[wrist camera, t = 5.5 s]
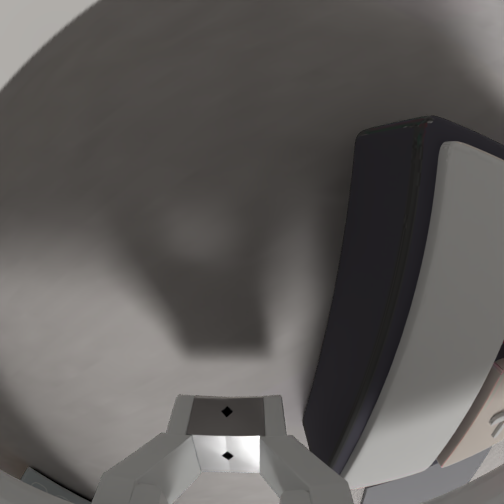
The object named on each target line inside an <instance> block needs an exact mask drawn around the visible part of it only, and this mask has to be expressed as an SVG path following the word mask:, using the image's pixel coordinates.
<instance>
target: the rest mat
mask: <svg viewBox="0 0 504 504" xmlns="http://www.w3.org/2000/svg"><path fill="white" fill-rule="evenodd" d="M491 448H492V446H491V447H489V448H487V449H485V450H483V451H481V452H479V453H477V454H475V455H473V456H471V457H468V458H466V459H464V460H462V461H459V462H457V463H455V464H452V465H450V466H447V467H444V468H441V466H440V465H439V463H437V464H434V465H431V466H430V467H429V468H427V469H426V470H424V471H422V472H419V473H416V474H413V475H410V476H406V477H403V478H400V479H396V480H392V481H389V482H385V483H381V484H376V485H372V486H368V487H365V491H364V495H363V498H362V502H361V504H420V503H422V502H425V501H428V500H430V499H433V498H435V497H438V496H440V495H443V494H445V493H447V492H450V491H452V490H454V489H456V488H459V487H461V486H463V485H465V484H467V483H468V482H469V481H470V480H471V478H472V477H473V475H474V474H475V473H476V471H477V470H478V468H479V467H480V465H481V464H482V462H483V461H484V459H485V457H486V456H487V454H488V453H489V451H490V449H491Z"/></svg>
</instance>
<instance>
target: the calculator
mask: <svg viewBox="0 0 504 504" xmlns="http://www.w3.org/2000/svg"><path fill="white" fill-rule="evenodd" d="M303 426H304V430H305V434H306V438H307V442H308V446H309V450H310V451H311V452H312V453H313V454H314V455H315V456H317V457H318V458H319V459H320V460H321V461H323V462H324V463H325V464H326V465H327V466H329V467H330V468H331V469H332V470H333V471H335V472H336V473H337V474H338V475H340V476H341V477H342V478H344V479H345V480H346V481H347V482H348V484H349V488H350V490H353V489H358V488H363V487H368V486H372V485H376V484H381V483H385V482H389V481H392V480H396V479H400V478H403V477H406V476H410V475H413V474H416V473H419V472H422V471H424V470H426V469H427V468H429V467H430V466H431V465H434V464H437V463H439V465H440V466H441V468H444V467H447V466H450V465H452V464H455V463H457V462H459V461H462V460H464V459H466V458H468V457H471V456H473V455H475V454H477V453H479V452H481V451H483V450H485V449H487V448H489V447H491V446H493V445H495V444H497V443H499V442H501V441H502V440H504V146H503V145H501V144H500V143H498V142H496V141H494V140H492V139H489V138H487V137H485V136H483V135H481V134H479V133H477V132H474V131H472V130H470V129H468V128H465V127H463V126H461V125H458V124H456V123H454V122H451V121H449V120H446V119H443V118H440V117H437V116H424V117H419V118H414V119H409V120H404V121H400V122H395V123H390V124H386V125H382V126H377V127H373V128H370V129H366V130H363V131H361V132H360V133H359V134H358V136H357V138H356V142H355V151H354V161H353V171H352V180H351V188H350V196H349V204H348V211H347V218H346V225H345V232H344V238H343V245H342V251H341V257H340V263H339V268H338V274H337V279H336V284H335V290H334V295H333V300H332V305H331V309H330V314H329V319H328V323H327V328H326V332H325V337H324V341H323V345H322V350H321V354H320V358H319V362H318V366H317V370H316V374H315V378H314V381H313V385H312V389H311V392H310V396H309V400H308V403H307V407H306V410H305V414H304V417H303Z"/></svg>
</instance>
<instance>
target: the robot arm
mask: <svg viewBox="0 0 504 504" xmlns="http://www.w3.org/2000/svg"><path fill="white" fill-rule="evenodd" d="M201 472H241V473H260V475H261V476H262V477H263V478H264V480H265V481H266V482H267V483H268V485H269V486H270V487H271V488H272V490H273V491H274V492H275V493H276V494H277V496H278V497H279V498H280V503H279V504H354V503H353V499H352V495H351V491H350V488H349V484H348V482H347V481H346V480H345V479H344V478H342V477H341V476H340V475H338V474H337V473H336V472H335V471H333V470H332V469H331V468H330V467H329V466H327V465H326V464H325V463H324V462H323V461H321V460H320V459H319V458H318V457H317V456H315V455H314V454H313V453H312V452H311V451H310V450H308V449H307V448H306V447H305V446H304V445H303V444H301V443H300V442H299V441H298V440H297V439H296V438H295V437H294V436H292V435H287V434H286V426H285V418H284V411H283V403H282V397H281V395H271V396H249V397H218V396H199V395H195V396H193V395H181V394H179V395H178V396H177V397H176V400H175V403H174V407H173V410H172V414H171V417H170V421H169V424H168V428H167V431H166V433H160V434H159V435H157V436H156V437H155V438H153V439H152V440H150V441H149V442H148V443H146V444H145V445H144V446H142V447H141V448H139V449H138V450H137V451H135V452H134V453H132V454H131V455H129V456H128V457H127V458H125V459H124V460H122V461H121V462H119V463H118V464H116V465H115V466H113V467H112V468H110V469H109V470H107V471H106V472H104V473H103V475H102V478H101V480H100V482H99V485H98V487H97V490H96V493H95V495H94V498H93V500H92V503H91V504H173V503H174V502H175V501H176V500H177V499H178V498H179V497H180V495H181V494H182V493H183V492H184V491H185V490H186V489H187V488H188V487H189V486H190V485H191V484H192V483H193V482H194V480H195V479H196V478H197V477H198V476H199V475H200V474H201ZM0 504H74V503H71V502H69V501H66V500H63V499H61V498H58V497H56V496H53V495H51V494H49V493H46V492H44V491H42V490H40V489H37V488H35V487H33V486H31V485H29V484H27V483H25V482H23V481H21V480H19V479H17V478H15V477H13V476H11V475H9V474H8V473H6V472H4V471H2V470H0ZM420 504H504V464H502V465H501V466H499V467H497V468H495V469H494V470H492V471H490V472H488V473H486V474H485V475H483V476H481V477H479V478H477V479H475V480H473V481H471V482H469V483H467V484H465V485H463V486H461V487H459V488H456V489H454V490H452V491H450V492H447V493H445V494H443V495H440V496H438V497H435V498H433V499H430V500H428V501H425V502H422V503H420Z"/></svg>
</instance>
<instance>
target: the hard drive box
mask: <svg viewBox="0 0 504 504" xmlns="http://www.w3.org/2000/svg"><path fill="white" fill-rule="evenodd" d="M21 481H23V482H25V483H27V484H29V485H31V486H33V487H35V488H37V489H40V490H42V491H44V492H46V493H49V494H51V495H53V496H56V497H58V498H61V499H63V500H66V501H69V502H71V503H74V504H91V503H92V502H90V501H88V500H86V499H84V498H82V497H80V496H78V495H76V494H74V493H72V492H70V491H69V490H67V489H65V488H63V487H61V486H60V485H58V484H56V483H54V482H53V481H51V480H49V479H48V478H46V477H45V476H43V475H41V474H40V473H38V472H37V471H35V470H34V469H32V468H30V467H28V468H27V470H26V471H25V473H24V475H23V476H22V478H21Z"/></svg>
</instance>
